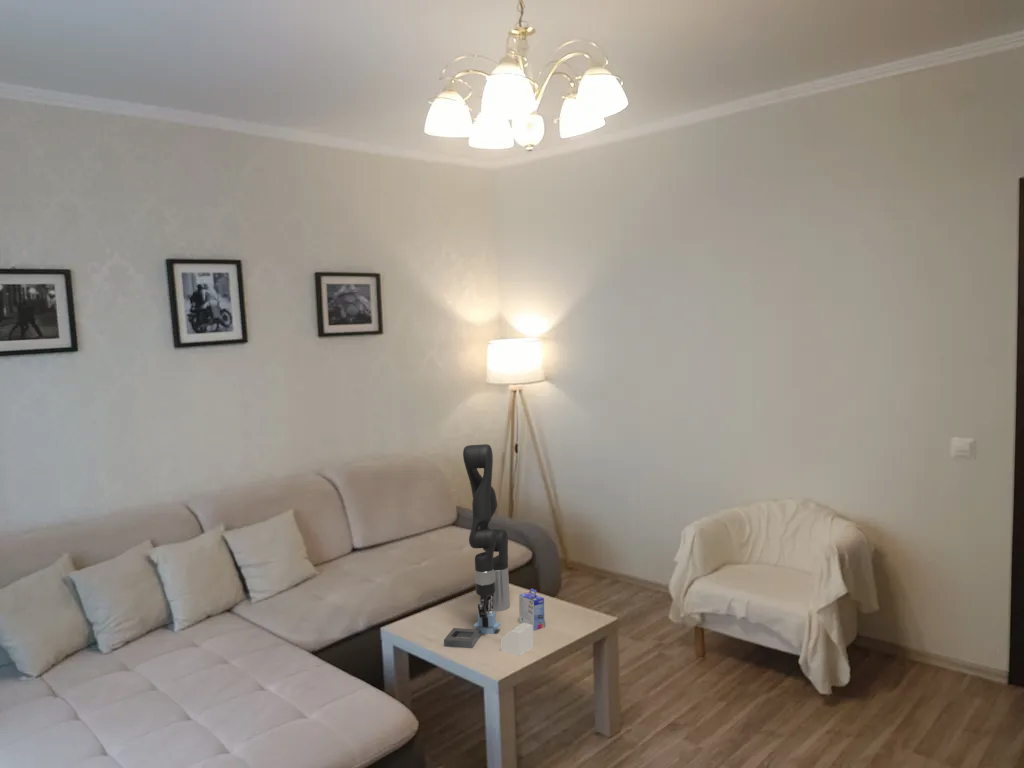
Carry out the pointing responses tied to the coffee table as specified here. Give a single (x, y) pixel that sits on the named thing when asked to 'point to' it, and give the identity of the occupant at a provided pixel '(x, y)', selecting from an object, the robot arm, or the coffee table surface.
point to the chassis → (466, 642)
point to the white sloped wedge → (518, 640)
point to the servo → (491, 624)
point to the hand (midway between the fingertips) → (487, 624)
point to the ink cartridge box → (531, 609)
